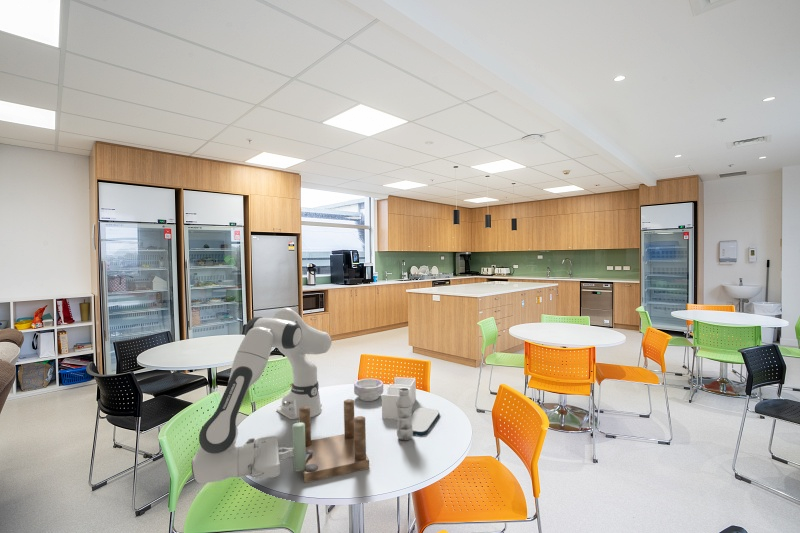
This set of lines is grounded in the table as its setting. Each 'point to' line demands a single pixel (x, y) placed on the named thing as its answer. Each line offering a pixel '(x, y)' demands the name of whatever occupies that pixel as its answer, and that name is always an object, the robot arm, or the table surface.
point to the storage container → (393, 393)
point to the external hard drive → (423, 420)
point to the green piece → (300, 447)
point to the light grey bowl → (368, 389)
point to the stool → (336, 447)
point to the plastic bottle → (404, 415)
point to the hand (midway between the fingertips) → (293, 451)
